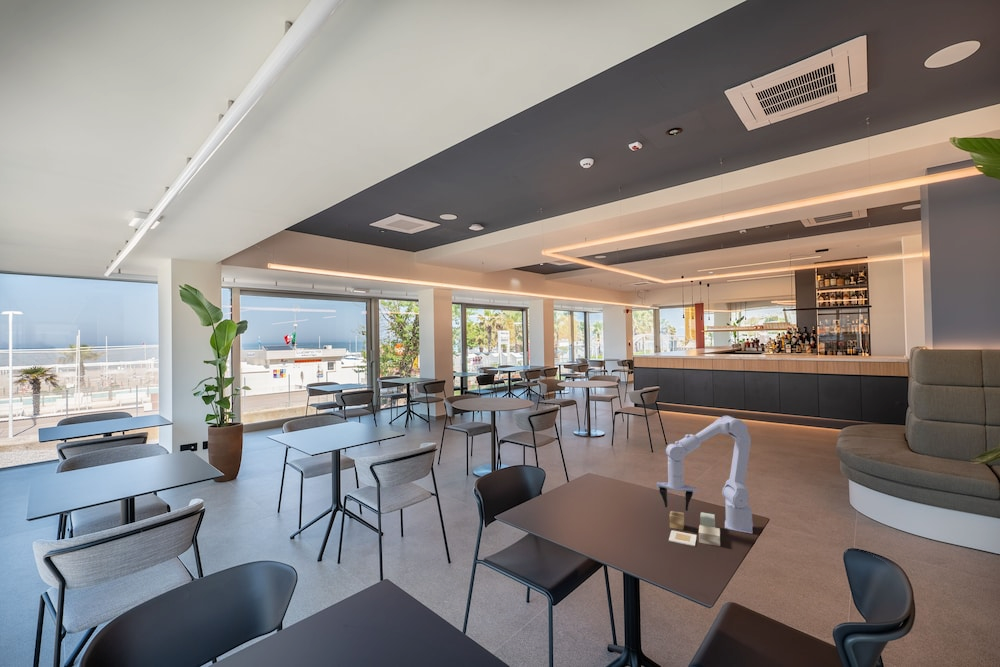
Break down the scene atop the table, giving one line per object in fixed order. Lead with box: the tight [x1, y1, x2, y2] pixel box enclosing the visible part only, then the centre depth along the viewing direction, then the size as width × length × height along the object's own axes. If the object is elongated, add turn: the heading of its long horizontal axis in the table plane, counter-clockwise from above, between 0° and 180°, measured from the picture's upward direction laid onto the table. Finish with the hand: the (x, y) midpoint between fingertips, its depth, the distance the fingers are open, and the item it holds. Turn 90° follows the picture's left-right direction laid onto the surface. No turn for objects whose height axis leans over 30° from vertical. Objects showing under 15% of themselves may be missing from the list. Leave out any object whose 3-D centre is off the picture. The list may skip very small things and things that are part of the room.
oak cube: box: [668, 510, 685, 531], centre depth 166 cm, size 5×5×5 cm
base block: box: [698, 524, 721, 547], centre depth 155 cm, size 7×7×4 cm
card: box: [668, 530, 697, 547], centre depth 156 cm, size 9×9×1 cm
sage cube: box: [699, 511, 716, 528], centre depth 165 cm, size 5×5×5 cm
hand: (676, 508), depth 167 cm, fingers open, 7 cm apart
